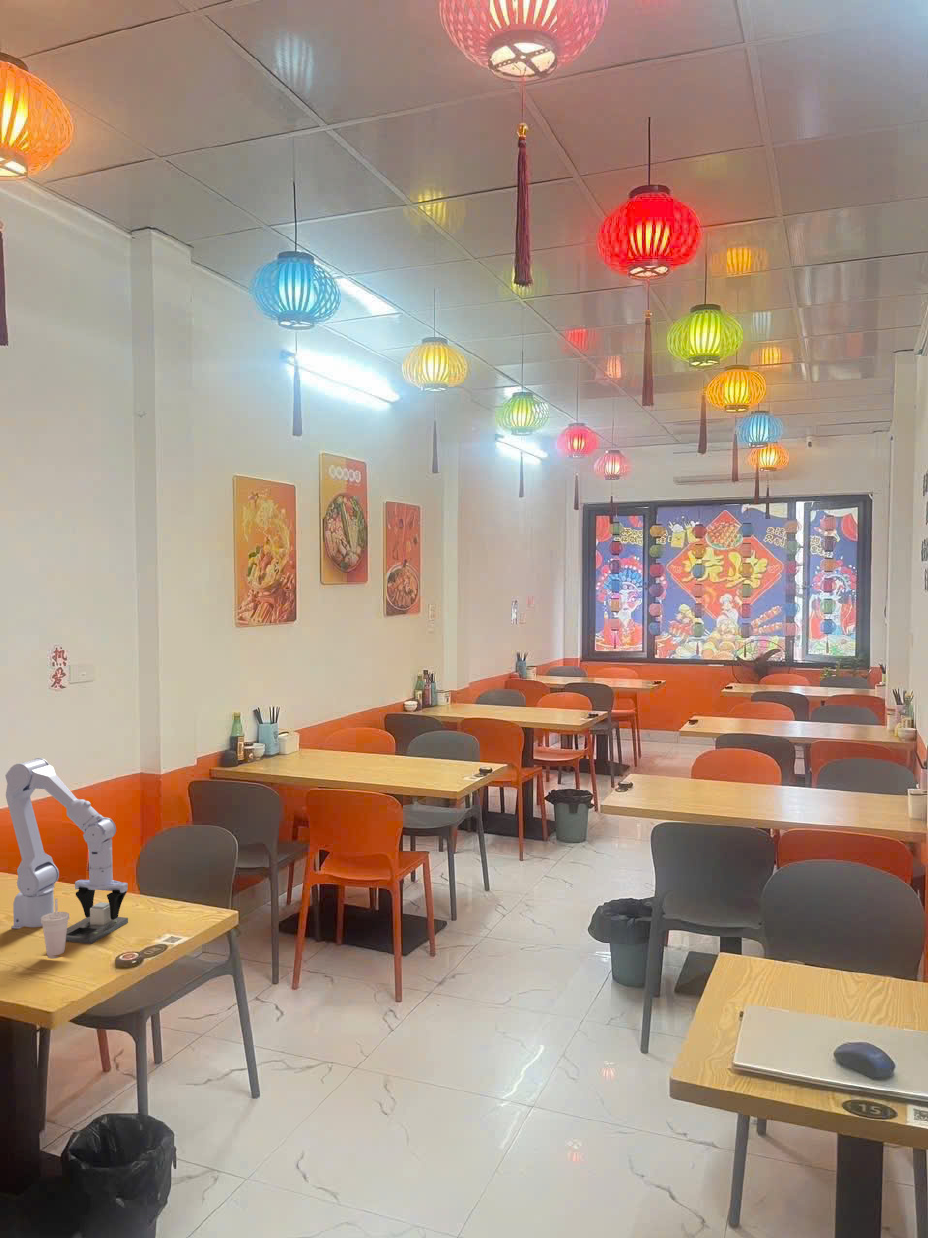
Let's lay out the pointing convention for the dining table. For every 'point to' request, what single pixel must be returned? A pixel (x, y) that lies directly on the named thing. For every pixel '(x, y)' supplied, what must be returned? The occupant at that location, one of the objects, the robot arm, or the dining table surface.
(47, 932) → the smoothie
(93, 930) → the panel
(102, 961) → the dining table surface
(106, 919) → the beige rectangular block
